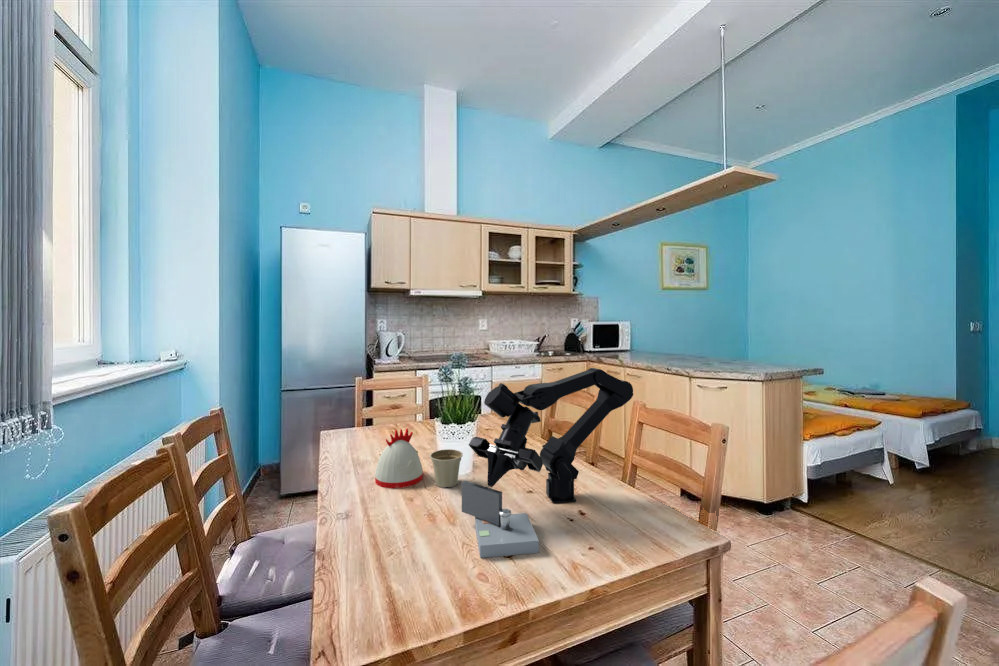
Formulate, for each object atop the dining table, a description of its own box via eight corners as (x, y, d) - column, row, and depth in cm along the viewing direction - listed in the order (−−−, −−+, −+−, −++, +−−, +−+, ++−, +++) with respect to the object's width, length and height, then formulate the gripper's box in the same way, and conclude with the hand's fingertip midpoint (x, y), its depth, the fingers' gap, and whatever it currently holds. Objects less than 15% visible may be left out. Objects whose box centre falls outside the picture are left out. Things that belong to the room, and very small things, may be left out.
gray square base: (526, 523, 94) (526, 512, 94) (538, 552, 82) (538, 539, 82) (475, 527, 93) (475, 516, 93) (480, 558, 81) (480, 544, 81)
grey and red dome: (430, 481, 119) (429, 431, 119) (383, 492, 112) (382, 438, 111) (412, 467, 131) (412, 421, 130) (369, 476, 123) (369, 427, 123)
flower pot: (457, 491, 112) (457, 461, 112) (425, 489, 114) (424, 458, 113) (466, 478, 121) (466, 450, 121) (437, 476, 123) (436, 448, 123)
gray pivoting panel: (513, 525, 88) (513, 493, 87) (506, 531, 86) (506, 497, 85) (467, 509, 96) (466, 479, 95) (459, 513, 94) (459, 483, 93)
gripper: (560, 451, 101) (537, 512, 92) (500, 438, 112) (474, 491, 104) (544, 427, 94) (517, 490, 86) (482, 416, 105) (453, 470, 97)
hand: (489, 486), depth 93 cm, fingers closed
